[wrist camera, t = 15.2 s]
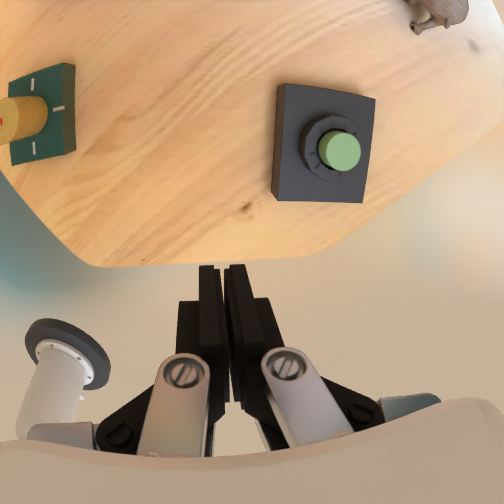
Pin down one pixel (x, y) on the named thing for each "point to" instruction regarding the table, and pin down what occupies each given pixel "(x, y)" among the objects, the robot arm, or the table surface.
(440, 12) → the rhinoceros figurine
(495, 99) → the table surface
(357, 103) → the button base
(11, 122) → the knob
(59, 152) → the panel
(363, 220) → the table surface
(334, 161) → the green short cylinder
